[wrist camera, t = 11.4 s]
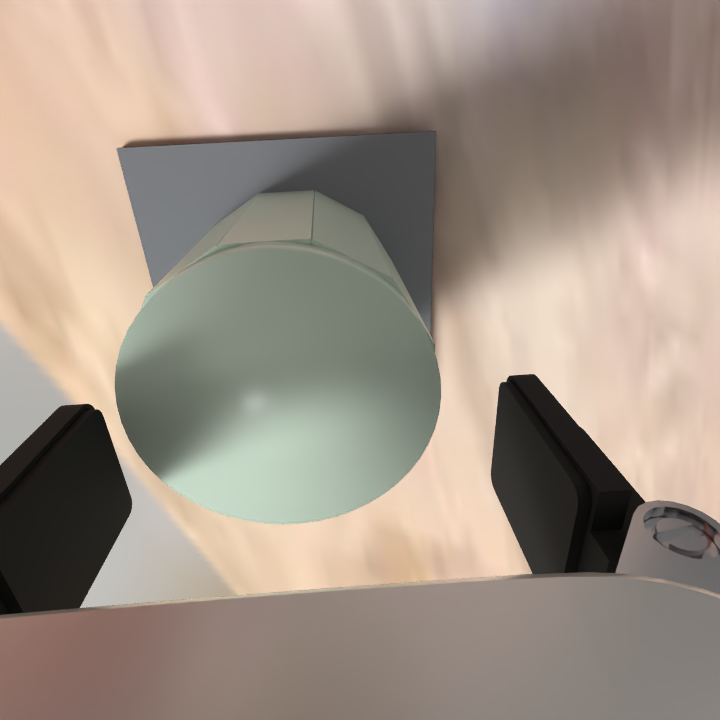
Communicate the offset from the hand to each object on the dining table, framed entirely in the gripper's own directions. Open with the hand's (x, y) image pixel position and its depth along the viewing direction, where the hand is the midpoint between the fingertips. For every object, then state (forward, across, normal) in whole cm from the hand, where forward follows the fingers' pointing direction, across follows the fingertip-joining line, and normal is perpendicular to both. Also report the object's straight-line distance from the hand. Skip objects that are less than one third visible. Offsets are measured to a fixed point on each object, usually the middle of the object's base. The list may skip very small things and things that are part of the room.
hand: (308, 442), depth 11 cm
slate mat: (+9, +1, -1) cm, 9 cm away
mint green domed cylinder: (+9, +1, -1) cm, 9 cm away
